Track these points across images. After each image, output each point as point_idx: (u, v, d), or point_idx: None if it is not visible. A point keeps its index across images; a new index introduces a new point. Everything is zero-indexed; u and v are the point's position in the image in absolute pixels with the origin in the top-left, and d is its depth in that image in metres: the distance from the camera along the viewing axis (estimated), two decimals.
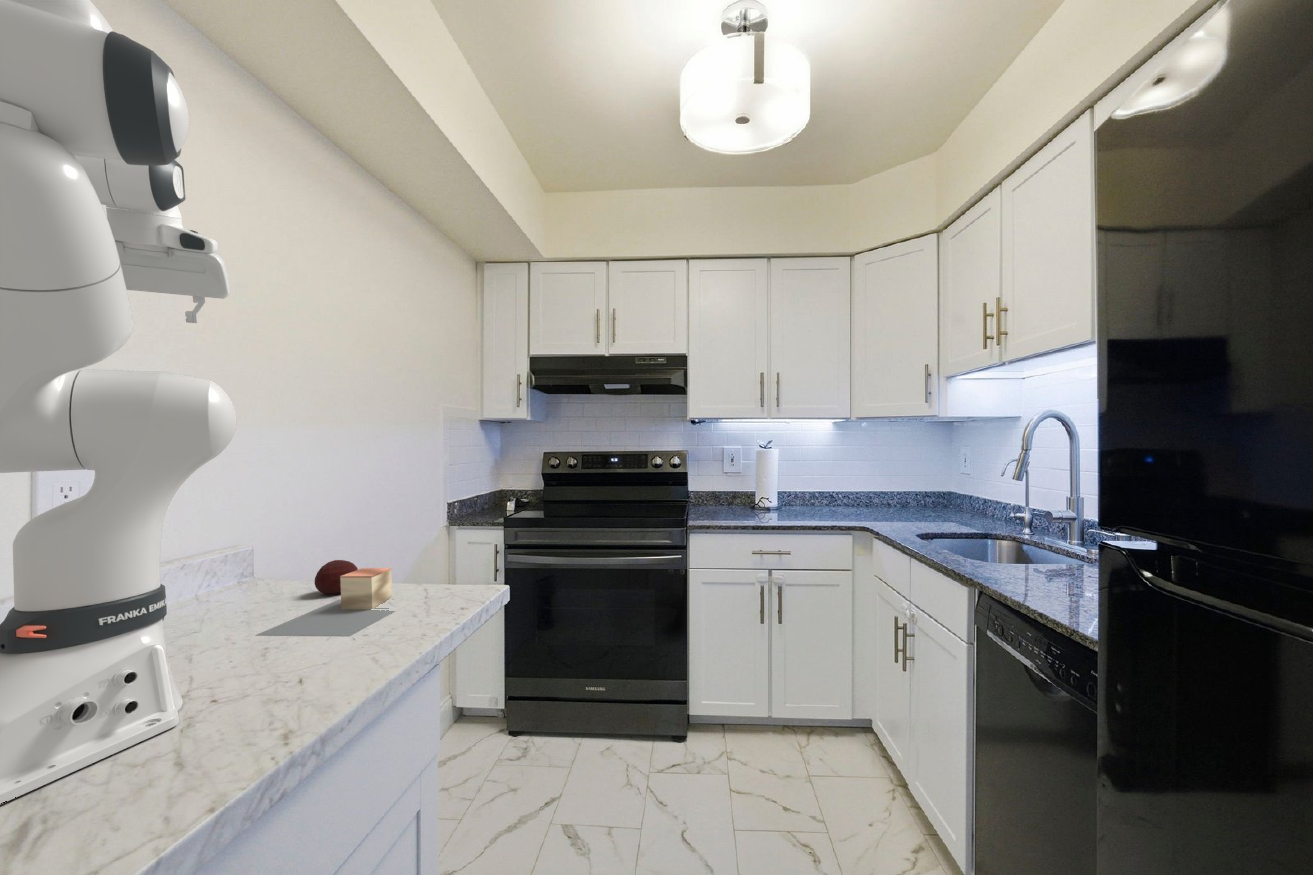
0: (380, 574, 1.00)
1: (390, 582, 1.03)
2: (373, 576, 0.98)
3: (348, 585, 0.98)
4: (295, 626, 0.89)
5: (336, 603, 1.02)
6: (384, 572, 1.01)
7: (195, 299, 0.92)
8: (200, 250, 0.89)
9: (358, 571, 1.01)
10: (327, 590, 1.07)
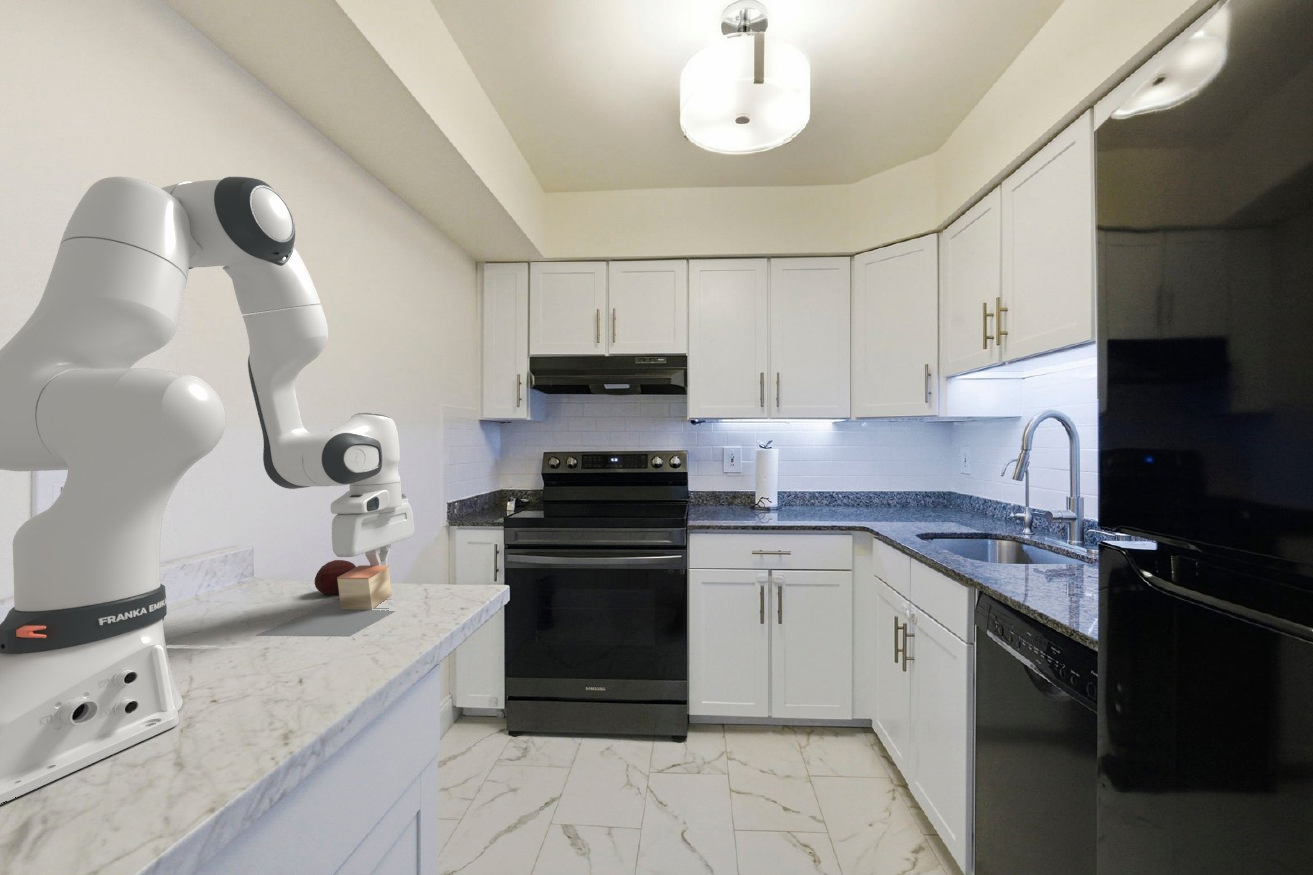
0: (377, 573, 0.99)
1: (388, 579, 1.02)
2: (370, 577, 0.97)
3: (346, 586, 0.97)
4: (295, 626, 0.89)
5: (336, 603, 1.02)
6: (381, 571, 1.00)
7: None
8: None
9: (355, 570, 1.00)
10: (327, 590, 1.07)
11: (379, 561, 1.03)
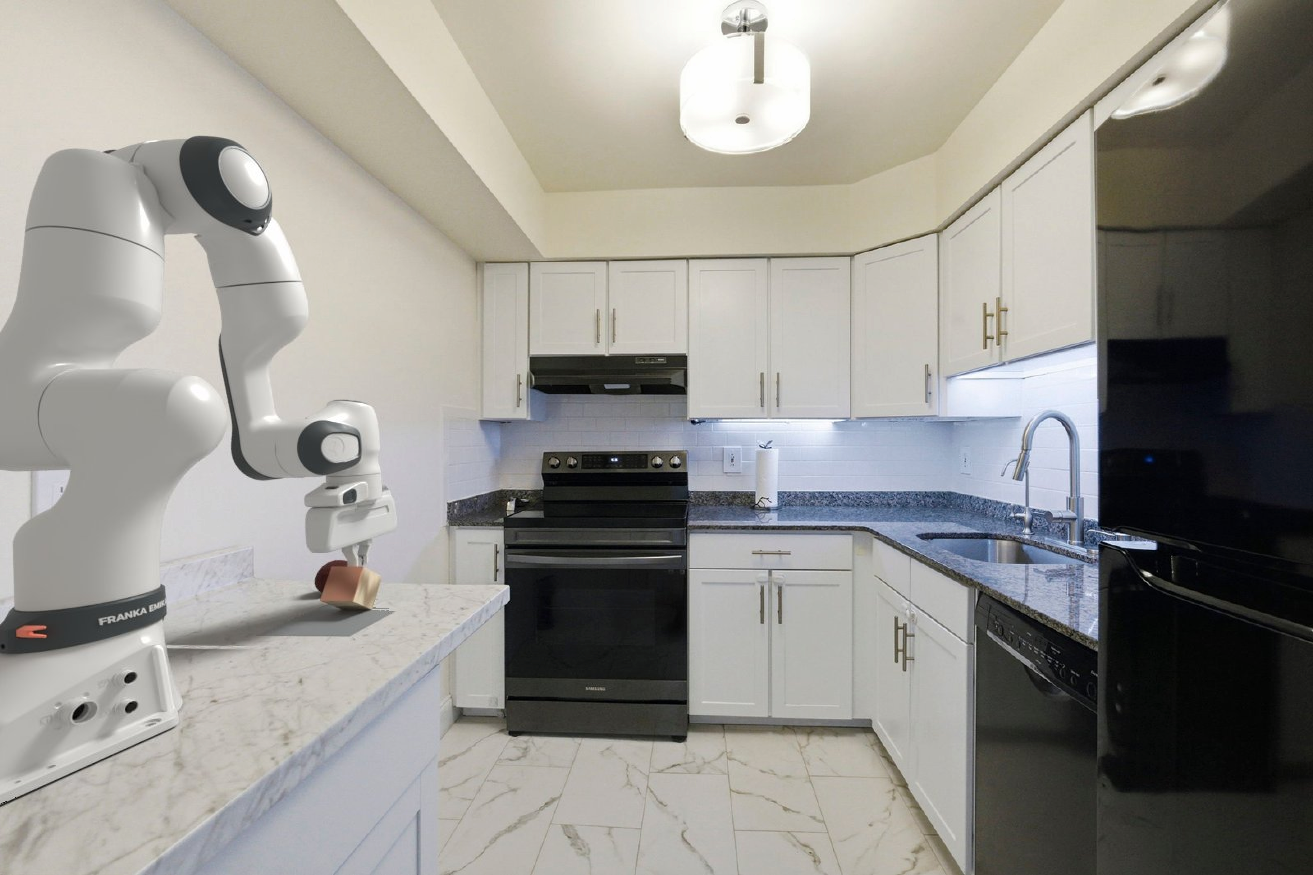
0: (357, 586, 0.94)
1: (371, 573, 0.97)
2: (354, 597, 0.93)
3: (334, 603, 0.94)
4: (295, 626, 0.89)
5: None
6: (360, 579, 0.94)
7: None
8: None
9: (332, 581, 0.95)
10: None
11: (357, 557, 0.97)
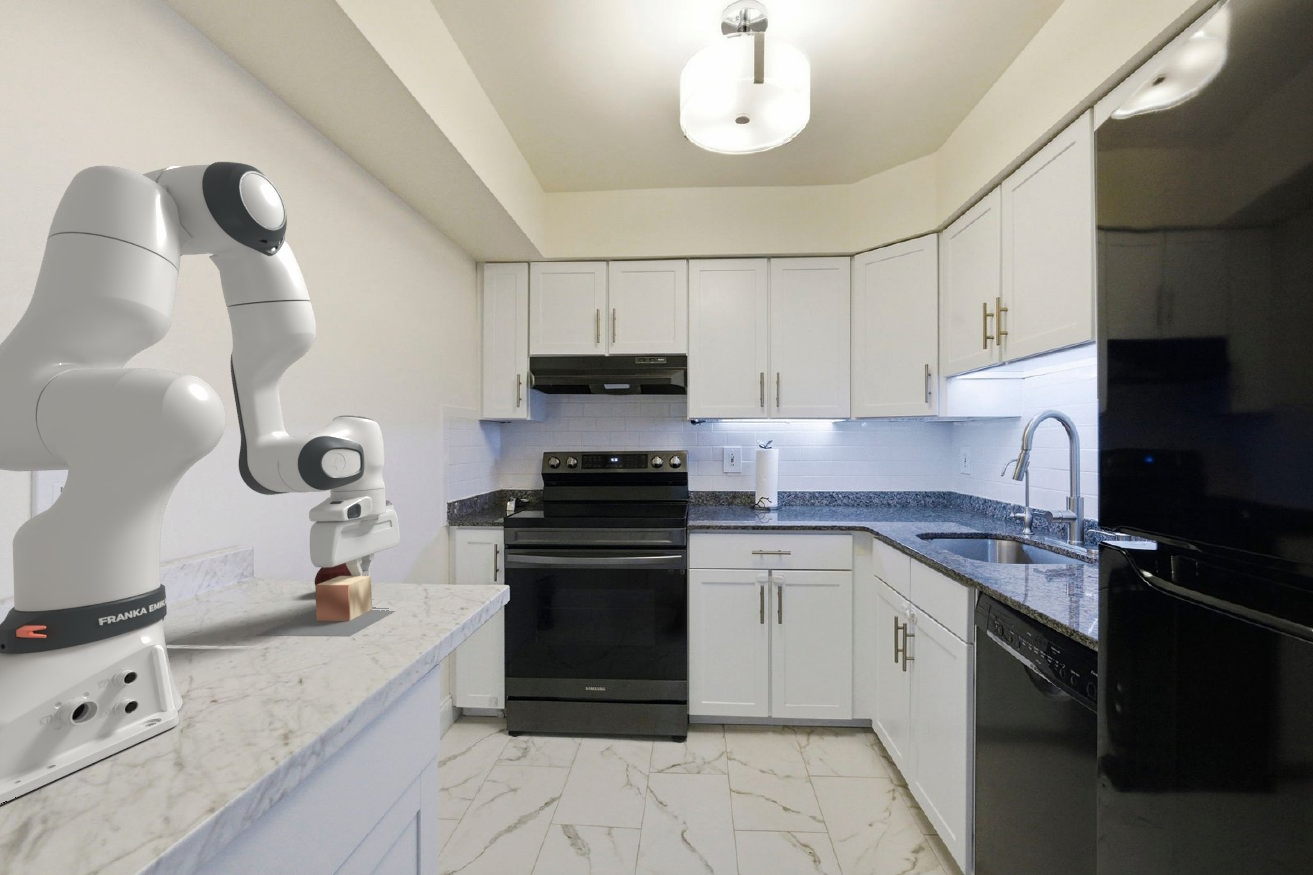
0: (349, 605, 0.92)
1: (358, 583, 0.94)
2: (350, 616, 0.92)
3: None
4: (295, 626, 0.89)
5: None
6: (349, 597, 0.92)
7: None
8: None
9: (321, 600, 0.92)
10: None
11: (361, 571, 0.98)
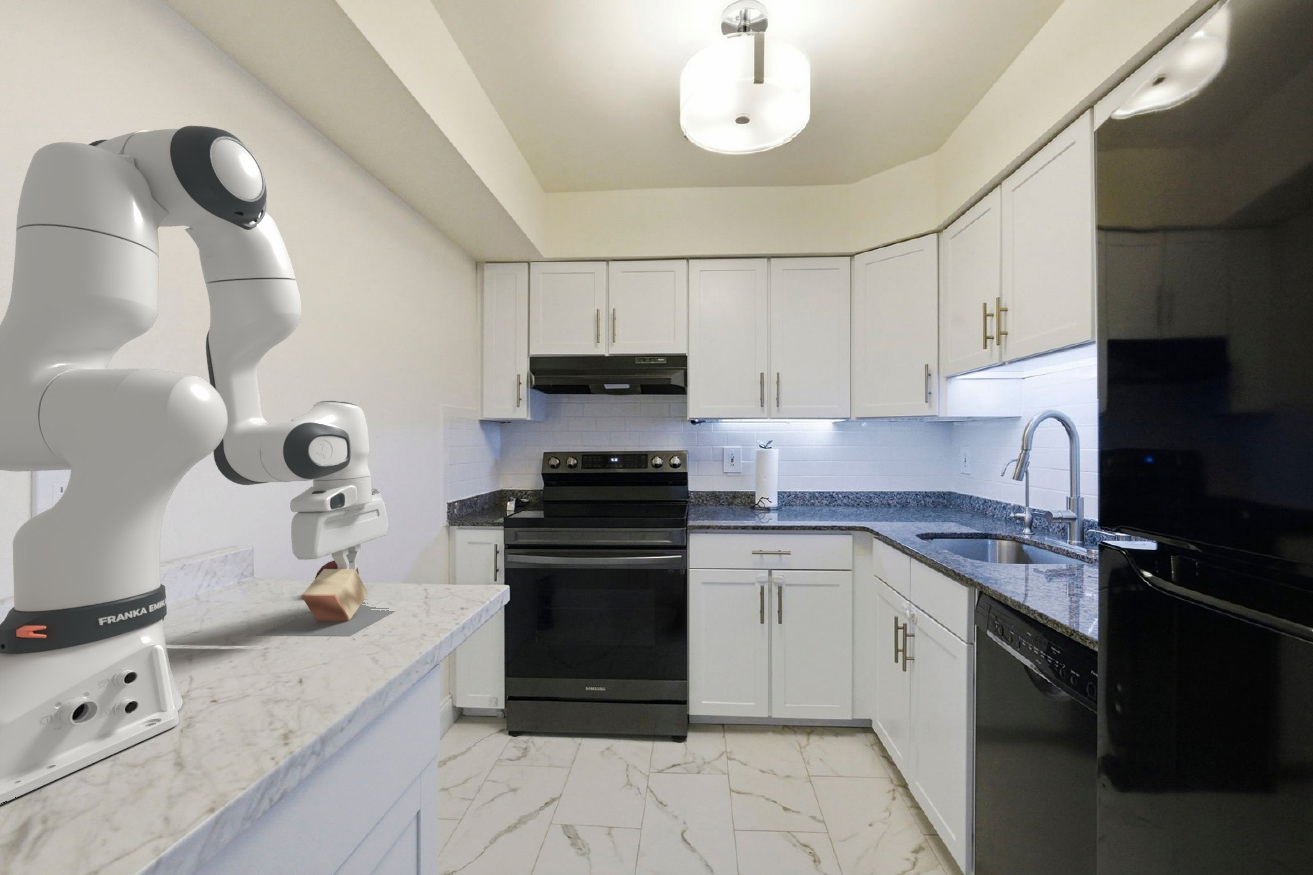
0: (343, 609, 0.90)
1: (345, 585, 0.91)
2: (348, 617, 0.91)
3: None
4: (295, 626, 0.89)
5: None
6: (341, 603, 0.90)
7: None
8: None
9: (314, 606, 0.90)
10: None
11: (347, 563, 0.94)
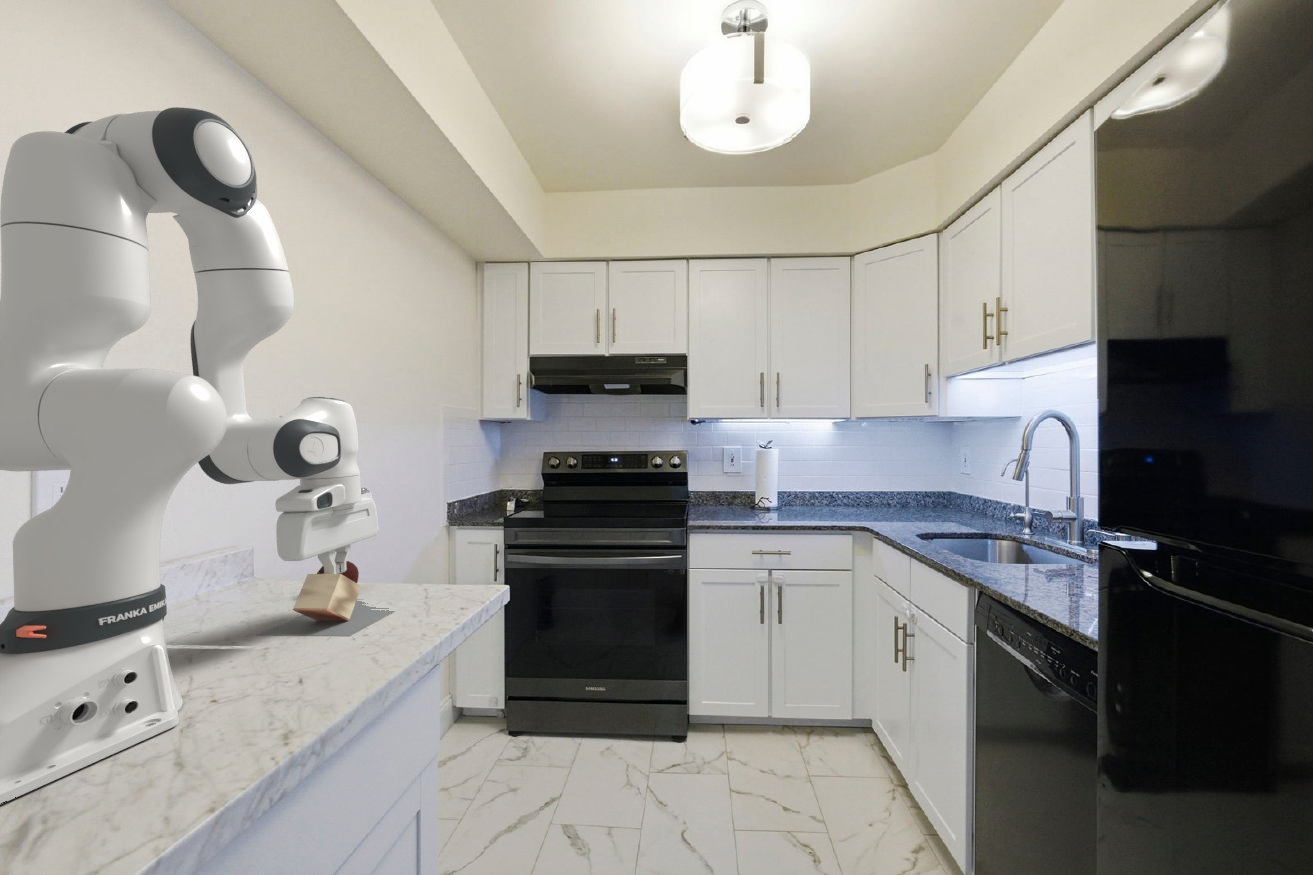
0: (340, 614, 0.89)
1: (334, 594, 0.88)
2: (347, 618, 0.91)
3: None
4: (295, 626, 0.89)
5: None
6: (335, 612, 0.88)
7: None
8: None
9: (309, 614, 0.89)
10: None
11: (334, 564, 0.91)
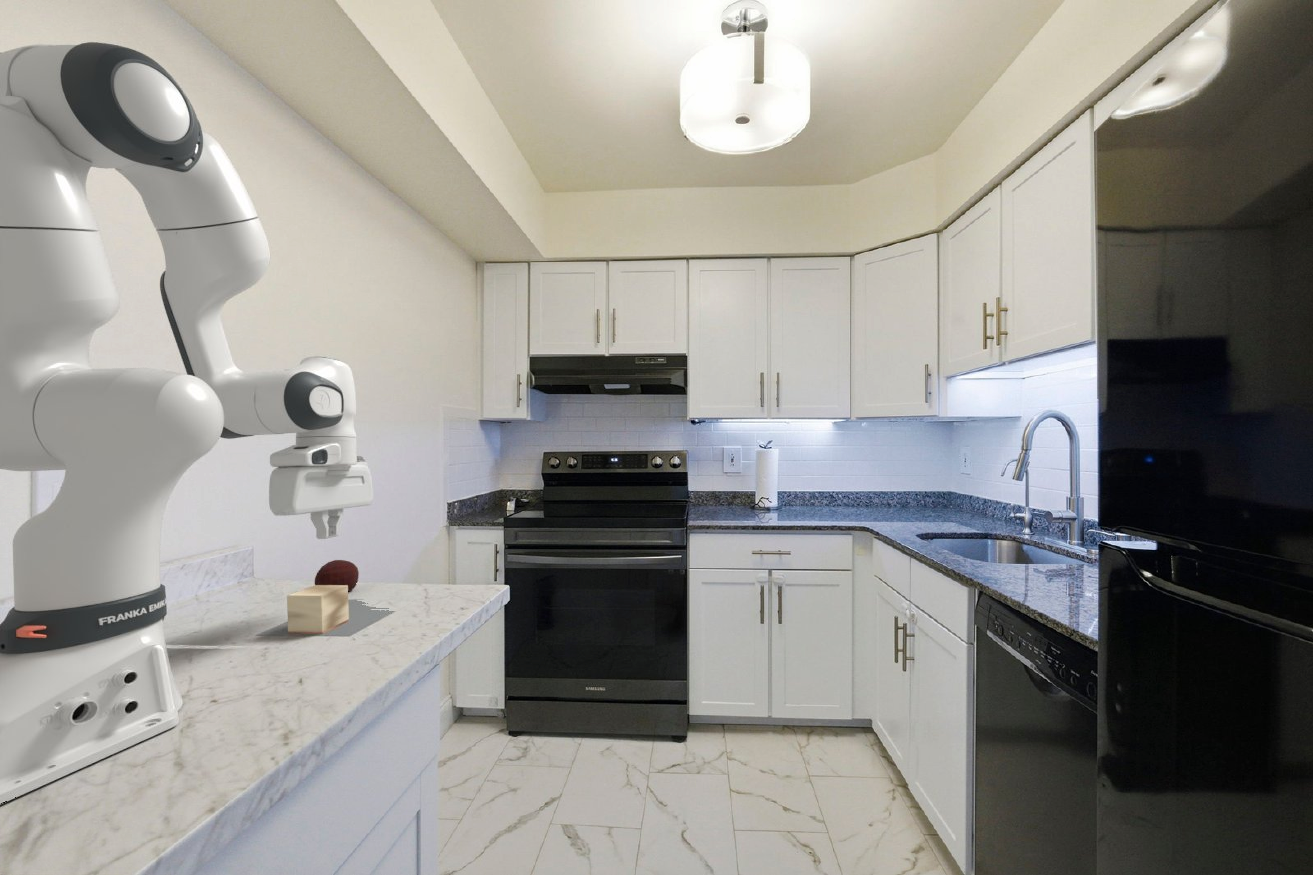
0: (337, 624, 0.89)
1: (324, 616, 0.86)
2: (346, 620, 0.91)
3: None
4: None
5: None
6: (332, 627, 0.87)
7: None
8: None
9: None
10: None
11: (327, 526, 0.90)
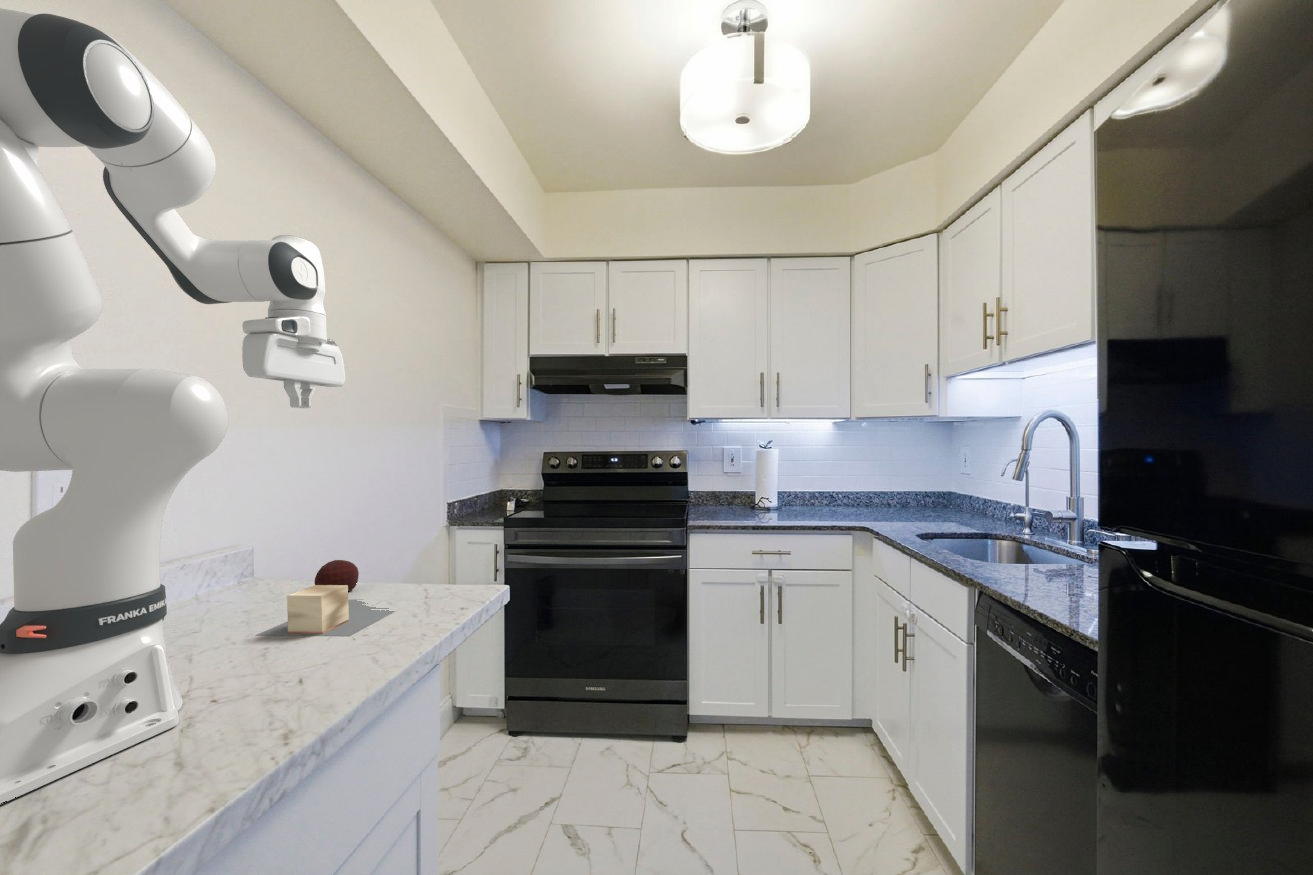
0: (337, 624, 0.89)
1: (324, 616, 0.86)
2: (346, 620, 0.91)
3: None
4: None
5: None
6: (332, 627, 0.87)
7: None
8: None
9: None
10: None
11: (299, 396, 0.96)
